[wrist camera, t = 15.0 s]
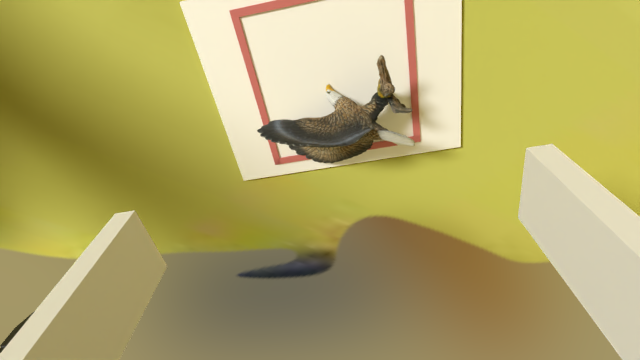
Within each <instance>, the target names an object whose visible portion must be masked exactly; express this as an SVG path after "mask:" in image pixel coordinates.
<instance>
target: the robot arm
mask: <svg viewBox="0 0 640 360" xmlns="http://www.w3.org/2000/svg"><path fill="white" fill-rule="evenodd" d="M518 218H519V220H520V221H521V222H522V224H523V225H524V226H525V228H526V229H527V230H528V232H529V233H530V235H531V236H532V237H533V239H534V240H535V241H536V243H537V244H538V246H539V247H540V248H541V250H542V251H543V252H544V254H545V255H546V256H547V258H548V259H549V261H550V262H551V263H552V265H553V266H554V267H555V269H556V270H557V271H558V273H559V274H560V276H561V277H562V278H563V280H564V281H565V282H566V284H567V285H568V286H569V288H570V289H571V291H572V292H573V293H574V295H575V296H576V297H577V299H578V300H579V302H580V303H581V304H582V306H583V307H584V308H585V310H586V311H587V312H588V314H589V315H590V317H591V318H592V319H593V320H594V322H595V323H596V325H597V326H598V327H599V329H600V330H601V332H602V333H603V334H604V336H605V337H606V338H607V340H608V341H609V342H610V344H611V345H612V347H613V348H614V349H615V351H616V352H617V353H618V355H619V356H620V357H621V359H622V360H640V217H639V216H638V215H637V214H636V213H635V212H633V211H632V210H631V209H630V208H629V207H627V206H626V205H625V204H624V203H623V202H621V201H620V200H619V199H618V198H617V197H615V196H614V195H613V194H612V193H611V192H609V191H608V190H607V189H606V188H605V187H603V186H602V185H601V184H600V183H599V182H597V181H596V180H595V179H594V178H593V177H591V176H590V175H589V174H588V173H587V172H585V171H584V170H583V169H582V168H581V167H579V166H578V165H577V164H576V163H575V162H573V161H572V160H571V159H570V158H569V157H567V156H566V155H565V154H564V153H563V152H561V151H560V150H559V149H558V148H557V147H555V146H554V145H553V144H549V145H543V146H536V147H530V148H526V154H525V163H524V171H523V180H522V188H521V197H520V206H519V214H518ZM166 268H167V265H166V263H165V261H164V260H163V258H162V256H161V254H160V253H159V251H158V249H157V248H156V246H155V244H154V242H153V241H152V239H151V237H150V235H149V234H148V232H147V230H146V229H145V227H144V225H143V223H142V222H141V220H140V218H139V217H138V215H137V213H136V211H135V210H134V211H128V212H122V213H115V214H114V215H113V217H112V218H111V219H110V220H109V221H108V223H107V224H106V225H105V226H104V228H103V229H102V230H101V231H100V232H99V234H98V235H97V236H96V237H95V239H94V240H93V241H92V242H91V243H90V245H89V246H88V247H87V248H86V249H85V251H84V252H83V253H82V254H81V256H80V257H79V258H78V259H77V260H76V262H75V263H74V264H73V265H72V267H71V268H70V269H69V270H68V271H67V273H66V274H65V275H64V276H63V278H62V279H61V280H60V281H59V283H58V284H57V285H56V286H55V287H54V289H53V290H52V291H51V292H50V294H49V295H48V296H47V297H46V298H45V299H44V301H43V302H42V303H41V304H40V306H39V307H38V308H37V309H36V311H34V312H33V313H32V314H31V315H30V316H29V317H27V318H26V319H25V320H24V321H23V322H21V323H20V324H19V325H18V326H17V327H16V328H15V329H14V330H13V331H12V332H11V333H10V335H9V336H8V337H7V338H6V339H5V341H4V342H3V343H2V344H1V348H0V360H119V359H120V358H121V356H122V354H123V352H124V350H125V348H126V346H127V344H128V342H129V340H130V338H131V336H132V334H133V332H134V330H135V328H136V326H137V324H138V322H139V320H140V319H141V317H142V314H143V313H144V311H145V309H146V307H147V305H148V303H149V301H150V299H151V297H152V295H153V293H154V291H155V289H156V287H157V285H158V283H159V281H160V279H161V278H162V276H163V274H164V272H165V270H166Z"/></svg>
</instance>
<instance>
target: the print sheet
mask: <svg viewBox="0 0 640 360" xmlns="http://www.w3.org/2000/svg"><path fill="white" fill-rule="evenodd" d="M180 5H181V8H182V10H183V13H184V16H185V19H186V22H187V24H188V27H189V30H190V33H191V35H192V38H193V41H194V44H195V47H196V49H197V52H198V55H199V58H200V60H201V63H202V66H203V69H204V72H205V74H206V77H207V80H208V83H209V85H210V88H211V91H212V94H213V97H214V99H215V102H216V105H217V108H218V111H219V113H220V116H221V119H222V122H223V124H224V127H225V130H226V133H227V136H228V138H229V141H230V144H231V147H232V149H233V152H234V155H235V158H236V161H237V163H238V166H239V169H240V172H241V174H242V177H243V180H244V181H245V180H252V179H258V178H264V177H271V176H277V175H284V174H290V173H296V172H303V171H309V170H315V169H322V168H328V167H335V166H341V165H347V164H354V163H360V162H367V161H373V160H379V159H386V158H392V157H399V156H405V155H411V154H418V153H424V152H431V151H437V150H443V149H450V148H456V147H461V34H462V0H186V1H182V2H180ZM380 55H383V56H384V58H385V62H386V67H387V70H388V72H389V75H390V78H391V82H392V85H394V87H395V92H394V93H393V95H394V96H395V97H396V98H397V99H399V101H400V103H401V104H404V105H405V106H406V108H411V109H413V110H412V112H410V113H394V112H393V111H392V109H391V106H390V104H389V103H388V105H386V106H385V108H384V109H383V111H381V112H380V114H379V115H378V116H377V117H378V119H377V120H376V123H378V124H379V125H381V126H382V127H384V128H386V129H388V130H389V131H393V132H396V133H400V134H403V135H406V136H407V137H409V138H411V139H413V140H414V142H415V146H406V145H397V144H395V143H393V142H389V141H385V140H374V141H373V143H372V144H373V145H372V146H371V148H370V149H368V150H366V152H363V153H362V154H360V155H358V156H354V157H352V158H349V159H347V160H343V161H339V162H334V163H323V162H322V163H319V162H315V161H313V160H312V159H307V158H306V155H298V154H296V151H295V150H291V149H290V148H289V145H286V144H279V143H274V142H271V140H266V139H265V138H264V137H261V136H260V134H262V133H259V132H257V130H258V129H260V128H261V127H262V126H264V125H267V124H268V123H269V122H270V121H273V120H282V119H288V120H298V119H301V118H317V117H324V116H327V115H329V114H331V113H332V112H334V111H335V108H334V107H333V106H332V105H331V103H330V102H329V101H328V99H327V97H326V86H327V85H328V84H330V87H331V88H332V89H333V90H334V91H336V92H337V93H339V94H341V95H343V96H345V97H348V98H350V99H351V100H352V101H354V102H355V103H356V104H357V105H358V106H363V105H365V104H367V103H369V102H370V101H371V98H372V96H373V95H374V94H375V93H376V92H377V87H378V81H379V79H380V76H379V70H378V67H377V61H378V58H379V56H380Z"/></svg>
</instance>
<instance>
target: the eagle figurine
mask: <svg viewBox="0 0 640 360" xmlns="http://www.w3.org/2000/svg"><path fill="white" fill-rule="evenodd" d="M377 67H378V70H379V76H380V79H379V81H378V87H377V92H376V93H375V94H374V95H373V96H372V98H371V101H370V102H369V103H367V104H365V105H363V106H358V105H357V104H356V103H355V102H354V101H352V100H351V99H350V98H348V97H345V96H343V95H341V94H339V93H337V92H336V91H334V90H333V89H332V88H331V87H330V84H328V85H327V86H326V97H327V99H328V101H329V102H330V103H331V105H332V106H333V107H334V108H335V111H334V112H332V113H331V114H329V115H327V116H324V117H317V118H301V119H298V120H288V119H282V120H273V121H270V122H269V123H268V124H267V125H264V126H262V127H261V128H260V129H258V130H257V132H259V133H262V134H260V136H261V137H264V138H265V139H266V140H271V142H274V143H279V144H286V145H289V148H290V149H291V150H295V151H296V154H298V155H306V158H307V159H312V160H313V161H315V162H319V163H322V162H323V163H334V162H339V161H343V160H347V159H349V158H352V157H354V156H358V155H360V154H362V153H363V152H366V150H368V149H370V148H371V146H372V145H373V144H372V143H373V141H374V140H385V141H389V142H393V143H395V144H397V145H406V146H415V142H414V140H413V139H411V138H409V137H407V136H406V135H403V134H400V133H396V132H393V131H389V130H388V129H386V128H384V127H382V126H381V125H379V124H378V123H376V120H377V119H378V117H377V116H378V115H379V114H380V112H381V111H383V109H384V108H385V106H386V105H388V103H389V104H390V106H391V109H392V111H393V112H394V113H410V112H412V110H413V109H411V108H406V106H405V105H404V104H401V103H400V101H399V99H397V98H396V97H395V96H394V95H393V93H394V92H395V87H394V85H392V82H391V78H390V75H389V72H388V70H387V67H386V62H385V58H384V56H383V55H380V56H379V58H378V61H377Z"/></svg>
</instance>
